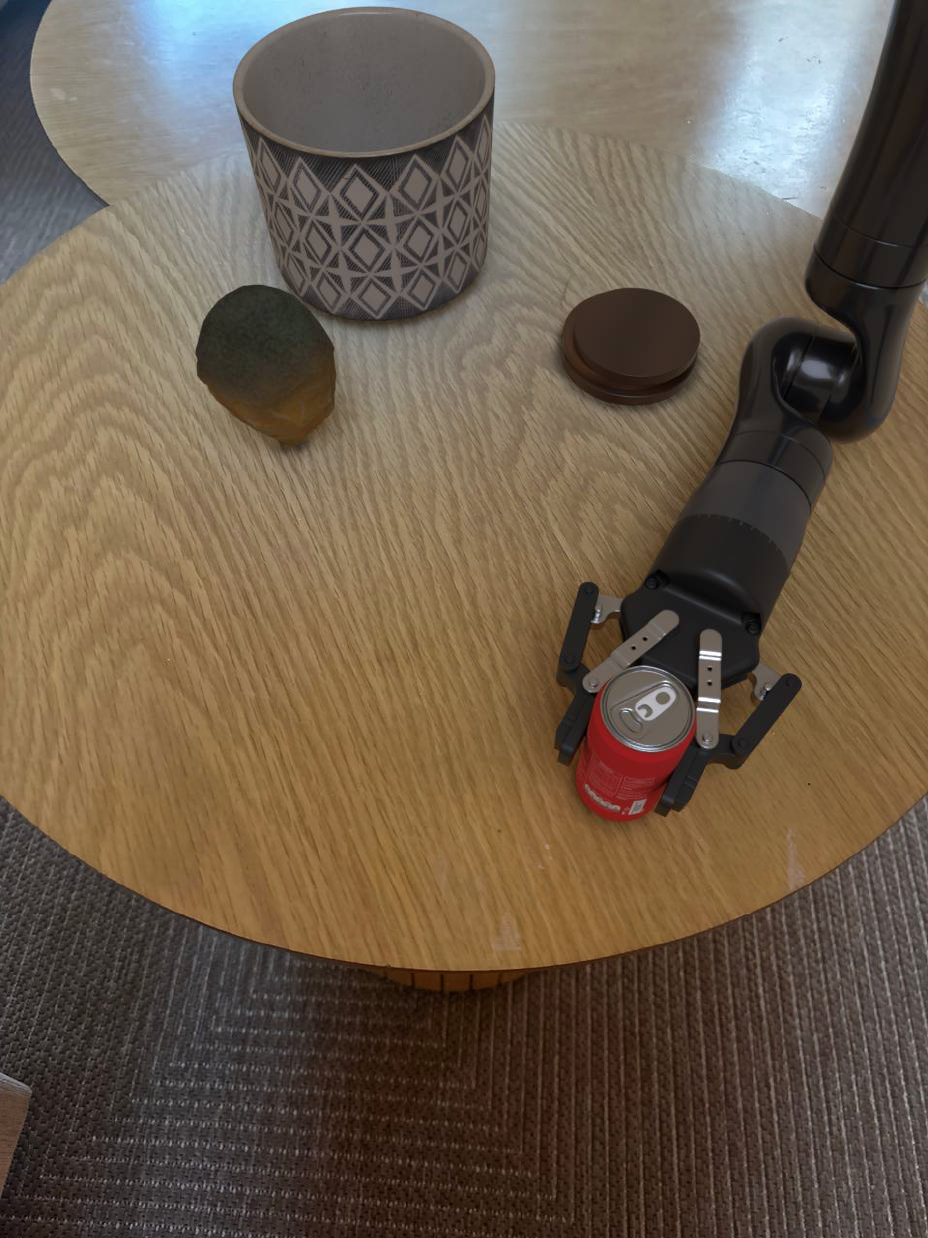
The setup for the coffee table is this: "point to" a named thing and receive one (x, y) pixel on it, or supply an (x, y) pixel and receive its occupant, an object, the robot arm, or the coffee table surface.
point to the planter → (371, 157)
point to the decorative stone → (268, 362)
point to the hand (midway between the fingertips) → (613, 784)
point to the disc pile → (630, 346)
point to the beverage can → (634, 742)
